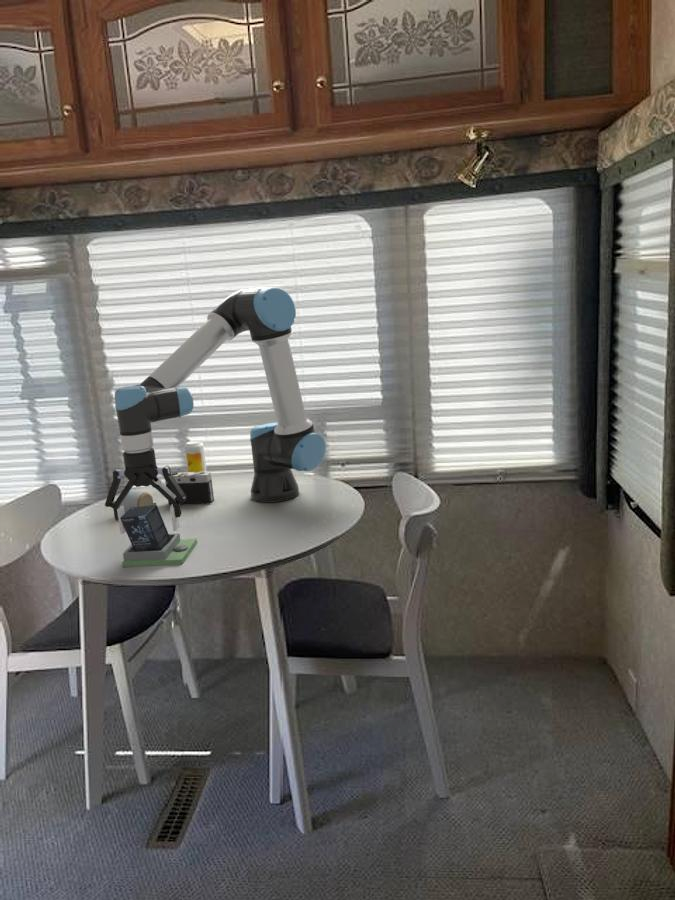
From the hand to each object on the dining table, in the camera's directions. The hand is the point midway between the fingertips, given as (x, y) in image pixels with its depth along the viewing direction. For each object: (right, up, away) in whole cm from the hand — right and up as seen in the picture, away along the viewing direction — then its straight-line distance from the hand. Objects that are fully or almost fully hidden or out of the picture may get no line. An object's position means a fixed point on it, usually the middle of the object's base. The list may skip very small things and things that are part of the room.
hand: (150, 530), depth 175 cm
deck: (+2, -6, +1) cm, 7 cm away
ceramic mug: (-13, +1, +38) cm, 40 cm away
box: (+1, -4, +1) cm, 5 cm away
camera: (+2, +4, +45) cm, 45 cm away
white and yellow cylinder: (0, +8, +63) cm, 64 cm away
